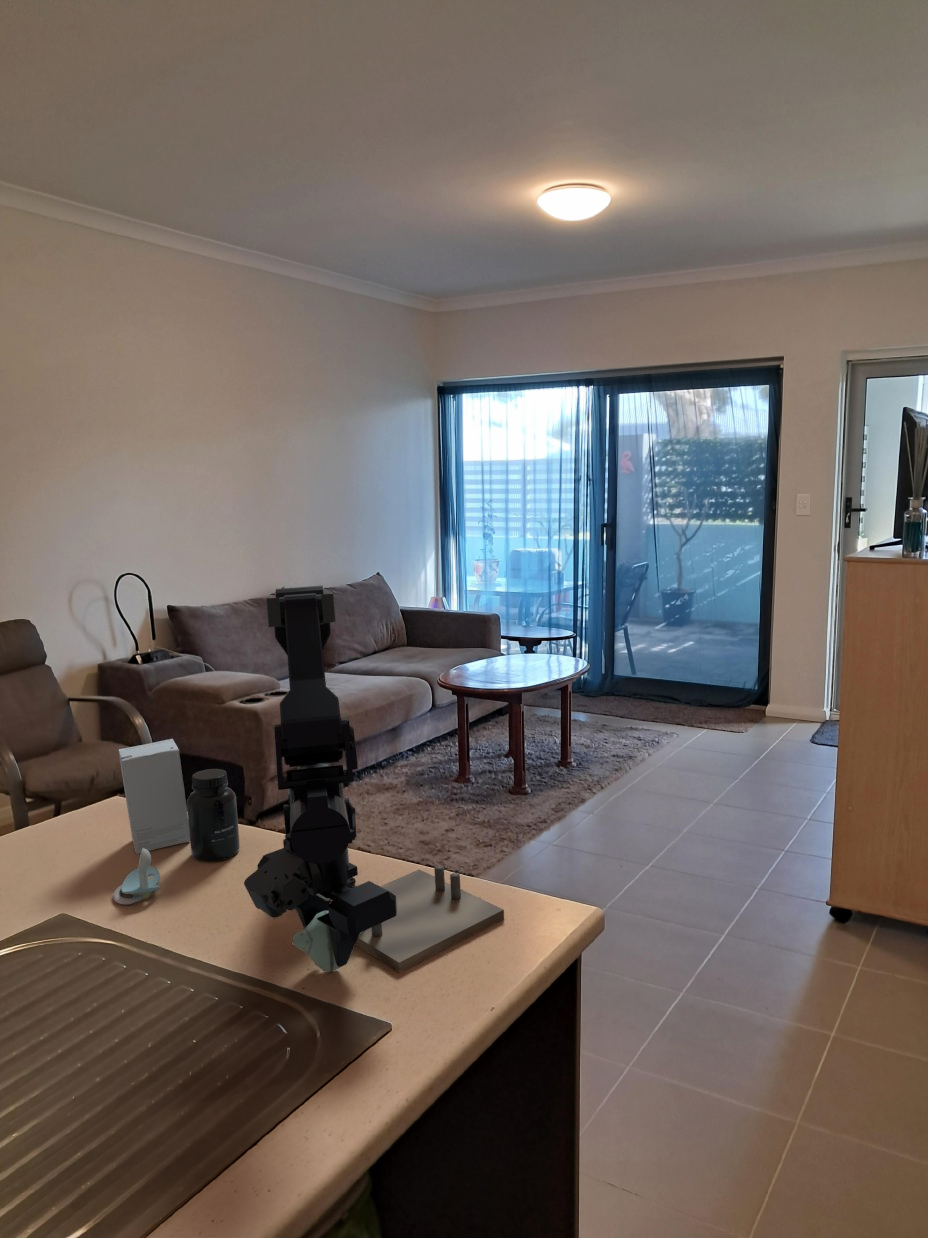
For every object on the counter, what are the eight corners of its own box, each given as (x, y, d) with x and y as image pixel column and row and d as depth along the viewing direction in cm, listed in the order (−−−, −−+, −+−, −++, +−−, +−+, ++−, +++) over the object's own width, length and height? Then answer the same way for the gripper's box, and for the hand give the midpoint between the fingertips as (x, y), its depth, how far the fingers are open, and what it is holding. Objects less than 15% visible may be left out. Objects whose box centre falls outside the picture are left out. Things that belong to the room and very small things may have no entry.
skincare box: (186, 829, 144) (176, 737, 142) (191, 843, 139) (181, 748, 136) (128, 841, 141) (117, 746, 138) (132, 856, 136) (120, 758, 133)
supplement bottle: (227, 864, 131) (219, 783, 129) (183, 862, 133) (174, 782, 131) (248, 844, 138) (241, 766, 136) (205, 842, 139) (197, 765, 137)
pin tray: (318, 922, 114) (315, 890, 113) (419, 877, 125) (417, 848, 124) (399, 972, 102) (397, 937, 102) (504, 919, 113) (502, 886, 112)
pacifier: (112, 913, 120) (161, 903, 121) (104, 867, 118) (154, 858, 120) (115, 888, 126) (161, 879, 128) (108, 845, 125) (155, 836, 127)
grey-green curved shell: (296, 987, 100) (291, 928, 99) (291, 968, 104) (286, 911, 103) (369, 971, 103) (365, 914, 102) (362, 953, 107) (358, 898, 106)
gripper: (208, 823, 102) (222, 955, 105) (302, 876, 88) (315, 1026, 91) (296, 795, 109) (307, 918, 112) (395, 839, 96) (404, 979, 98)
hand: (329, 957), depth 103 cm, fingers closed on grey-green curved shell, 4 cm apart
